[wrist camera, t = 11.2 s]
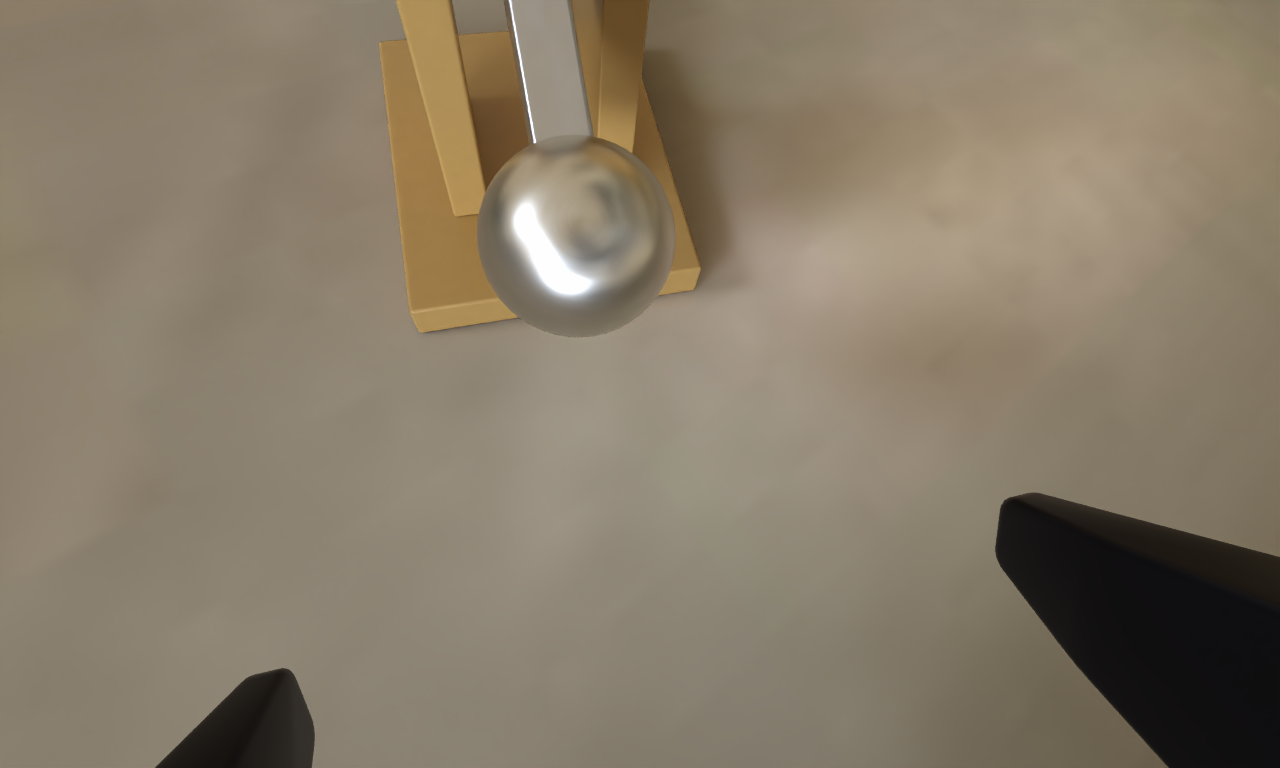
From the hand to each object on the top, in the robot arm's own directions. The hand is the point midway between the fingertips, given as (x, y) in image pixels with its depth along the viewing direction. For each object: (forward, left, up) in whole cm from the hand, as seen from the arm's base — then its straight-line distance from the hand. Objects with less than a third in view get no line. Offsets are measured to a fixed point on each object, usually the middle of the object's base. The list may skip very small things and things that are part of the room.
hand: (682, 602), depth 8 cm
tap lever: (+8, -7, -2) cm, 11 cm away
